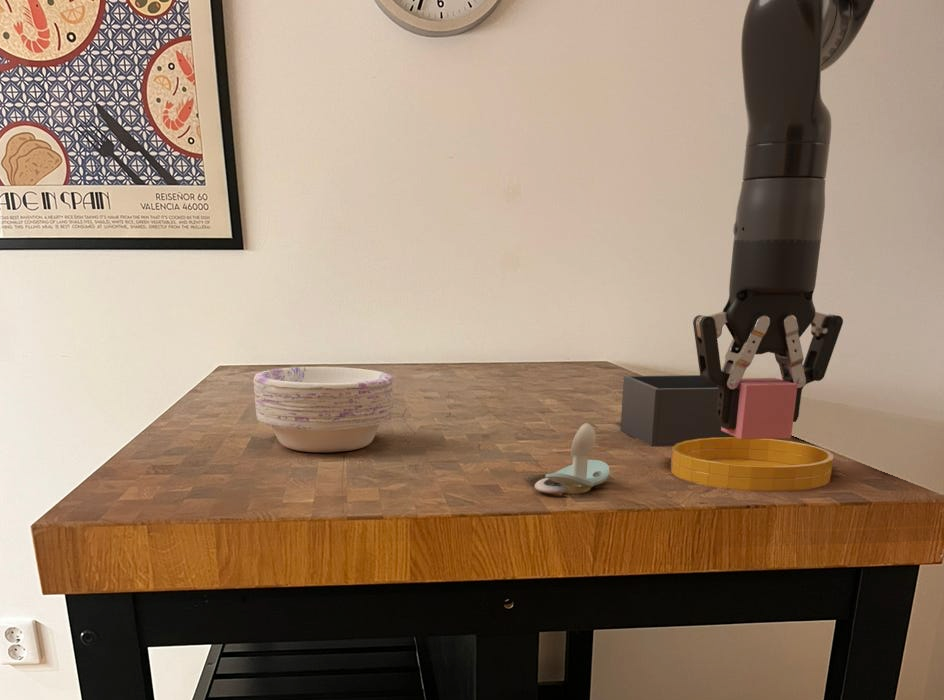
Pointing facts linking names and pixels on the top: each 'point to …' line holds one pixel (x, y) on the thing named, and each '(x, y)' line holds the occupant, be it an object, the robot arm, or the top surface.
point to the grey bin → (670, 409)
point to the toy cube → (764, 409)
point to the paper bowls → (323, 406)
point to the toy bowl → (752, 464)
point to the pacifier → (577, 467)
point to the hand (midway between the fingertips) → (756, 426)
